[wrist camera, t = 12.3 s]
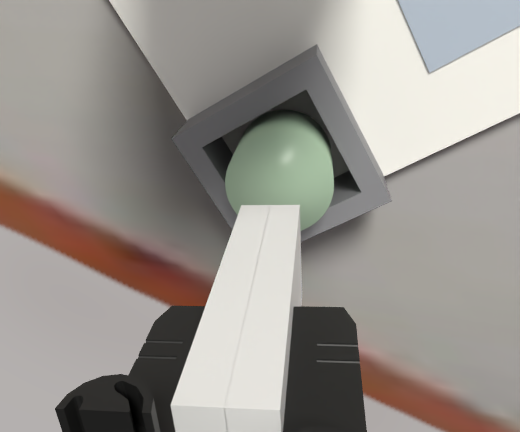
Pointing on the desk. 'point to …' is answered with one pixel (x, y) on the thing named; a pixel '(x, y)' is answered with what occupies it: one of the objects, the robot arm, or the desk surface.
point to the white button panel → (332, 80)
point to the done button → (283, 165)
